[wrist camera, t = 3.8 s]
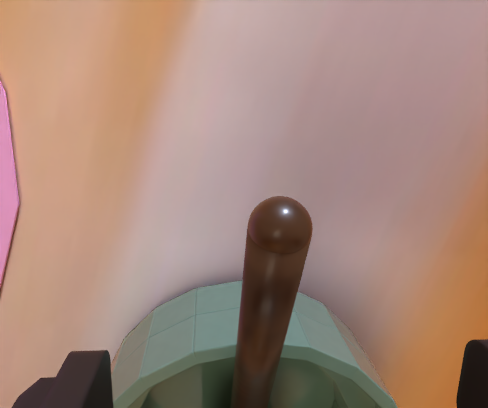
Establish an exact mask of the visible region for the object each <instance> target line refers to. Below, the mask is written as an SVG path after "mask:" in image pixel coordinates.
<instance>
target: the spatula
mask: <svg viewBox="0 0 488 408" xmlns="http://www.w3.org/2000/svg"><path fill="white" fill-rule="evenodd" d="M312 229H313V228H312V221H311V218H310V215H309V213H308V212H307V210H306V209H305V208H304V207H303V206H302V205H301V204H300V203H299V202H298V201H296V200H294V199H292V198H289V197H284V196H276V197H271V198H268V199H266V200H264V201H262V202H261V203H260V204H259V205H257V206H256V207H255V209H254V210H253V212H252V213H251V215H250V218H249V222H248V228H247V238H246V249H245V259H244V270H243V280H242V291H241V302H240V312H239V323H238V333H237V344H236V354H235V365H234V375H233V386H232V396H231V407H230V408H268V404H269V400H270V396H271V392H272V388H273V384H274V381H275V377H276V373H277V369H278V365H279V361H280V357H281V353H282V350H283V346H284V342H285V338H286V334H287V330H288V326H289V322H290V318H291V315H292V311H293V307H294V303H295V299H296V295H297V291H298V287H299V284H300V280H301V276H302V272H303V268H304V264H305V260H306V256H307V253H308V249H309V245H310V241H311V237H312Z"/></svg>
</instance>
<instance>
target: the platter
mask: <svg viewBox="0 0 488 408" xmlns="http://www.w3.org/2000/svg"><path fill="white" fill-rule="evenodd" d="M18 209H19V196H18V188H17V180H16V172H15V164H14V156H13V148H12V140H11V132H10V124H9V115H8V107H7V99H6V92H5V90H4V88H3V86H2V84H1V81H0V288H1V284H2V280H3V275H4V271H5V266H6V262H7V257H8V253H9V249H10V244H11V240H12V235H13V231H14V226H15V222H16V218H17V213H18Z"/></svg>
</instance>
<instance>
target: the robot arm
mask: <svg viewBox="0 0 488 408" xmlns="http://www.w3.org/2000/svg"><path fill="white" fill-rule="evenodd" d="M12 408H114V407H113V393H112V378H111V363H110V355H109V352H108V351H107V350H102V351H72V352H70V353H69V354H68V356H67V358H66V359H65V361H64V363H63V365H62V367H61V369H60V370H59V372H58V374H57V376H56V377H54V378H40V379H39V380H38V381H37V382H35V383H34V384H33V385H32V386H31V387H29V388H28V389H27V390H26V391H25V392H23V393H22V394H21V395H20V396H19V397H18V398H17V400H16V402H15V403H14V405H13V406H12ZM457 408H488V339H487V340H471V341H469V342H468V343H467V345H466V347H465V351H464V357H463V363H462V369H461V375H460V381H459V387H458V393H457Z"/></svg>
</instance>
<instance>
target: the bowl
mask: <svg viewBox="0 0 488 408" xmlns="http://www.w3.org/2000/svg"><path fill="white" fill-rule="evenodd" d="M241 291H242V280H241V281H234V282H229V283H223V284H217V285H211V286H205V287H199V288H197V289H196V288H195V289H193V290H191V291H189V292H187V293H184V294H182V295H180V296H178V297H176V298H174V299H172V300H170V301H168V302H166V303H164V304H162V305H160V306H158V307H156V309H154V310H153V311H152V312H151V313H150V314H149V315H148V316H147V317H146V318H145V319H144V320H143V321H142V322H140V323H139V324H138V325H137V326H136V327H135V328H134V329H133V330H132V331H131V332H130V333H129V334H128V335H127V336H126V337H125V338H124V340H123V342H122V343H121V345H120V347H119V349H118V351H117V353H116V355H115V357H114V359H113V361H112V363H111V378H112V393H113V407H114V408H230V407H231V396H232V386H233V375H234V365H235V354H236V344H237V333H238V323H239V312H240V302H241ZM268 408H398V407H397V405H396V403H395V401H394V399H393V398H392V396H391V394H390V393H389V391H388V390H387V388H386V386H385V385H384V383H383V382H382V380H381V378H380V377H379V375H378V374H377V372H376V370H375V369H374V367H373V366H372V364H371V362H370V361H369V359H368V358H367V356H366V354H365V353H364V351H363V349H362V348H361V346H360V345H359V343H358V341H357V340H356V338H355V337H354V335H353V333H352V332H351V331H350V329H349V328H348V327H347V326H346V325H345V324H344V323H343V322H342V321H341V320H340V319H339V318H338V317H337V316H335V315H334V314H333V313H332V312H331V311H330V310H329V309H328V308H327V307H326V306H325V305H324V304H322V302H319V301H317V300H315V299H313V298H311V297H309V296H306V295H304V294H302V293H300V292H298V291H297V295H296V299H295V303H294V307H293V311H292V315H291V318H290V322H289V326H288V330H287V334H286V338H285V342H284V346H283V350H282V353H281V357H280V361H279V365H278V369H277V373H276V377H275V381H274V384H273V388H272V392H271V396H270V400H269V404H268Z"/></svg>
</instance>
